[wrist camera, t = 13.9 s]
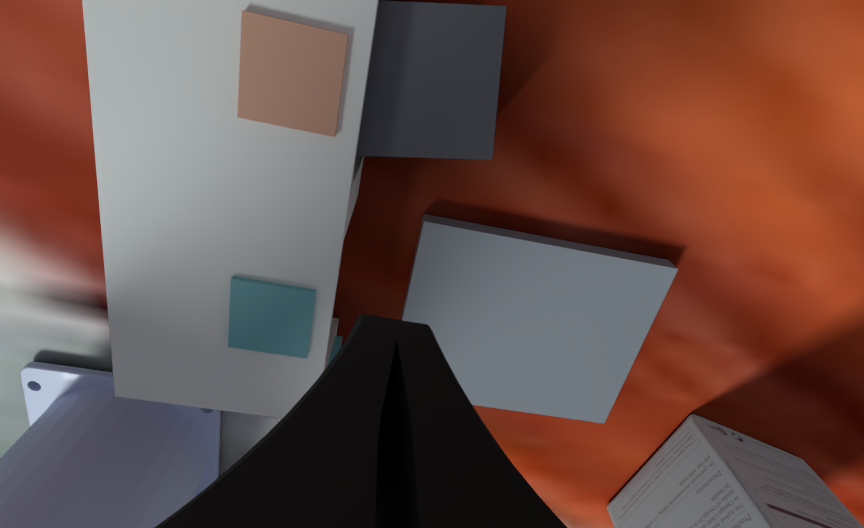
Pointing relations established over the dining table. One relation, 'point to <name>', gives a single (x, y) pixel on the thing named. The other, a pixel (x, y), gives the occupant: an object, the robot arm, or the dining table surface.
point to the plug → (433, 81)
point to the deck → (533, 315)
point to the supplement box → (725, 486)
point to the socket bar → (225, 190)
